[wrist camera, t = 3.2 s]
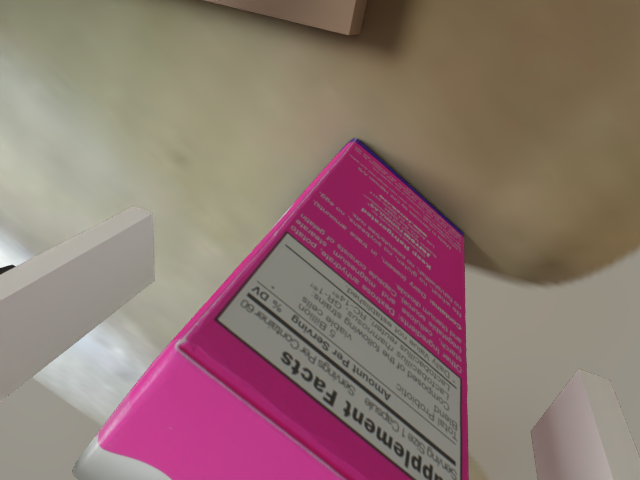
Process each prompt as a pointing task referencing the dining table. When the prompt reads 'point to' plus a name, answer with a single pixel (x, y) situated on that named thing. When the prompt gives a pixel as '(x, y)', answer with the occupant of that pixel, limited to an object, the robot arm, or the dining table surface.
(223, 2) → the walnut board
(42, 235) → the dining table surface
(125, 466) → the supplement box
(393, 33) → the dining table surface
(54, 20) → the dining table surface
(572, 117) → the dining table surface
